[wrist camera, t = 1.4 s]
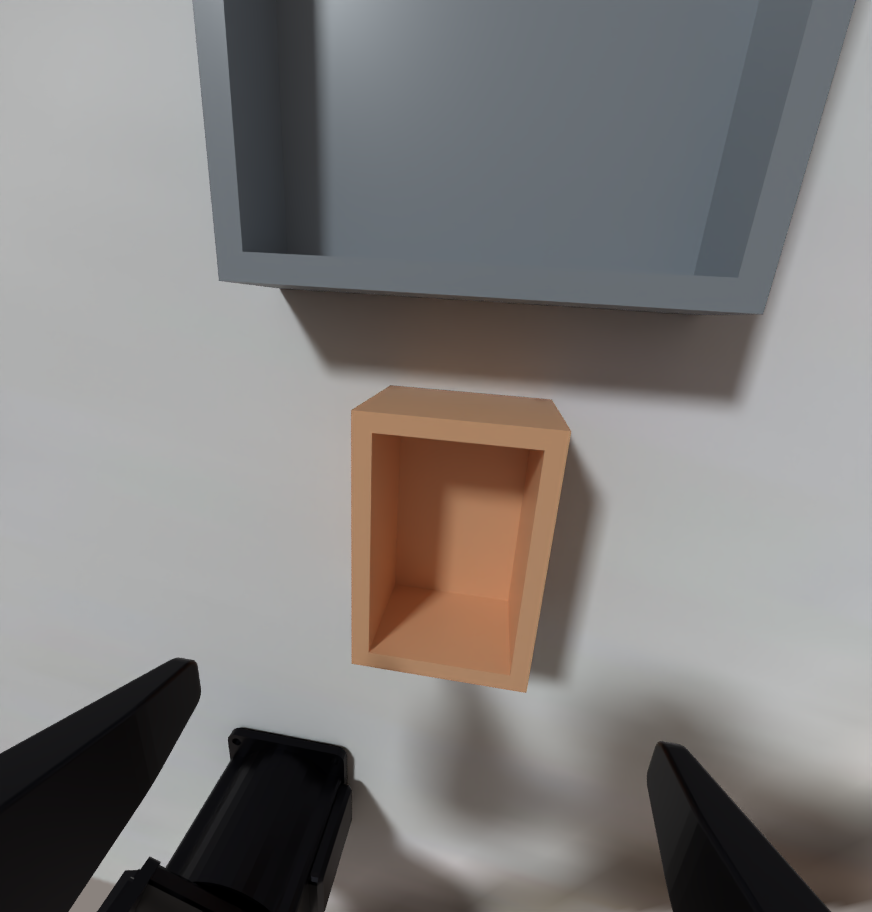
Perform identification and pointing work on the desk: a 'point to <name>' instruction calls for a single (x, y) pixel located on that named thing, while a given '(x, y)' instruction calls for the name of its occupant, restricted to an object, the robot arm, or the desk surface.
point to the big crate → (514, 145)
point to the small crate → (452, 531)
